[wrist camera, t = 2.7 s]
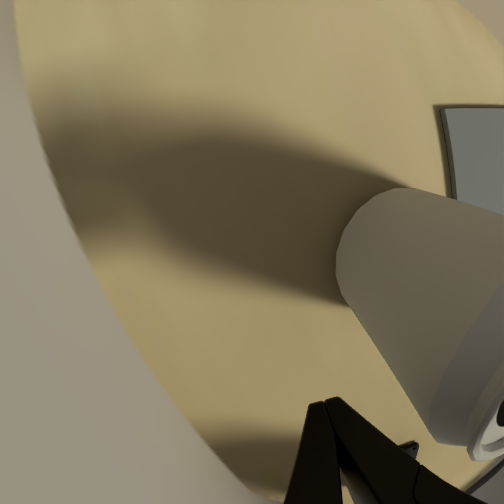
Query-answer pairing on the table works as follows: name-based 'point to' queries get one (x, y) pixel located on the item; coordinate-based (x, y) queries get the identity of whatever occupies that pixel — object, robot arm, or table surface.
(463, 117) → the mat
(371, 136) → the table surface
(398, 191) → the can
